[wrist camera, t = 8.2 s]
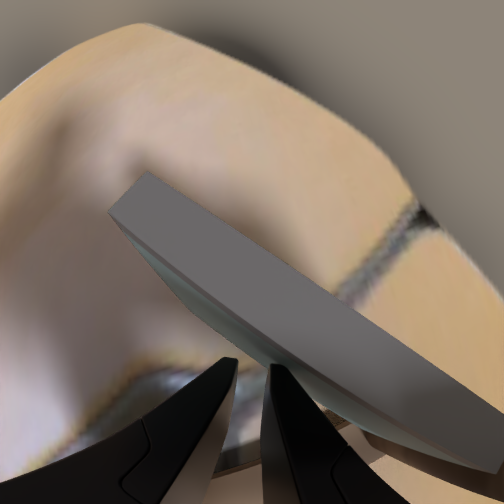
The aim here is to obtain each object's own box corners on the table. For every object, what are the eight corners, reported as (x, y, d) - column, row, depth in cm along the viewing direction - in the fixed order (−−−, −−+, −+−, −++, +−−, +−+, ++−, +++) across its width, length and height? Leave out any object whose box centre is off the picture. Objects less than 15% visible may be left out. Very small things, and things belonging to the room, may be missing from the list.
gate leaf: (362, 429, 12) (495, 474, 3) (190, 310, 14) (107, 212, 6) (376, 408, 12) (520, 425, 4) (205, 291, 15) (147, 170, 6)
